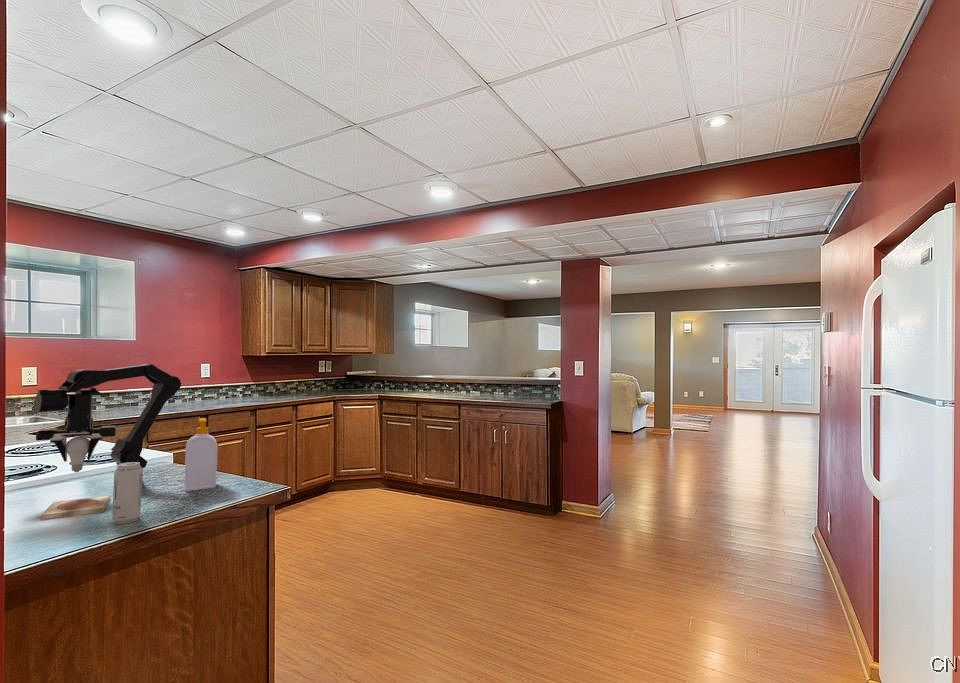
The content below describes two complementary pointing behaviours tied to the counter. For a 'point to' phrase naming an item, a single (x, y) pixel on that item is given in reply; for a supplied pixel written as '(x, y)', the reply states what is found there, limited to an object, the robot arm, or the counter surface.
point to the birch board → (76, 507)
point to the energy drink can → (127, 492)
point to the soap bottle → (200, 460)
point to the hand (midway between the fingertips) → (77, 460)
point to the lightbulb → (77, 451)
